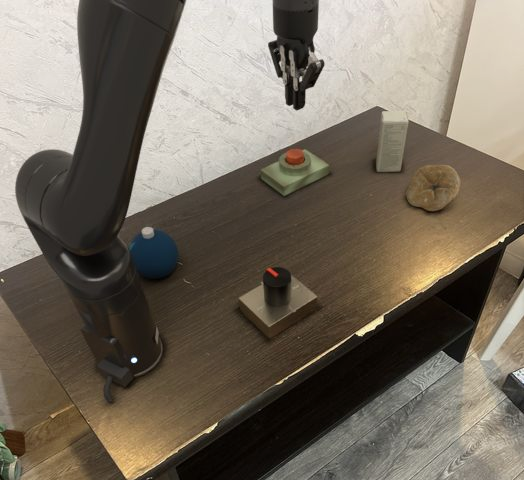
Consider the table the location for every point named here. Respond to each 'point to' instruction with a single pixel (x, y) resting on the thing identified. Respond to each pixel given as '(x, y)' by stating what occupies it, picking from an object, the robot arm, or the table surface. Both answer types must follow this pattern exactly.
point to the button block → (294, 173)
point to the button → (295, 157)
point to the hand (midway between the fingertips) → (295, 106)
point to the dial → (277, 286)
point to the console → (277, 308)
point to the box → (391, 141)
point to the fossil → (433, 187)
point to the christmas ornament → (154, 253)
